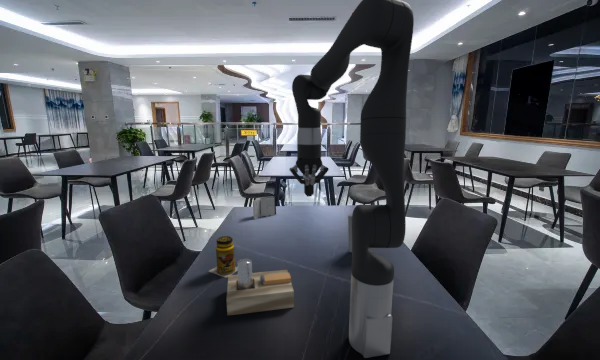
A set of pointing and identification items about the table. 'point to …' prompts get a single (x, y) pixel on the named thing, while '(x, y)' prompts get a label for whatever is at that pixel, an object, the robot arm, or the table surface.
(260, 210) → the hinge
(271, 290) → the birch block
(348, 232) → the skincare box
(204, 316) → the table surface
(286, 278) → the latch arm
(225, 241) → the condiment
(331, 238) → the table surface
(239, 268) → the steel peg
